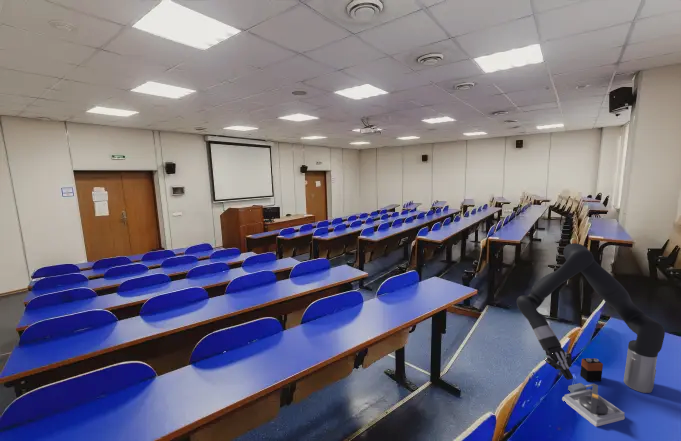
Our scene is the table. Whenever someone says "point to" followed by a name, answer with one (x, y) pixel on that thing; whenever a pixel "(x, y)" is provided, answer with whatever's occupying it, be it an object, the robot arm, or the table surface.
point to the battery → (591, 369)
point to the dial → (593, 402)
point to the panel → (596, 420)
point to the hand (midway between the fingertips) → (570, 379)
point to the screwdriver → (578, 387)
